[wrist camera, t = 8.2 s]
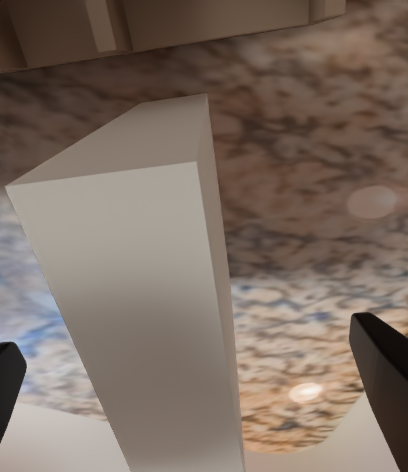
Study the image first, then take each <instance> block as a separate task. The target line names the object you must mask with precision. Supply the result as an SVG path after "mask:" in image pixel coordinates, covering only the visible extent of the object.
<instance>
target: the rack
mask: <svg viewBox="0 0 408 472" xmlns="http://www.w3.org/2000/svg"><path fill="white" fill-rule="evenodd" d="M345 7H346V0H0V74H5V73H11V72H17V71H24V70H30V69H36V68H42V67H49V66H55V65H61V64H68V63H74V62H80V61H87V60H93V59H99V58H106V57H112V56H118V55H124V54H131V53H137V52H143V51H150V50H156V49H162V48H169V47H175V46H181V45H188V44H194V43H200V42H206V41H213V40H219V39H225V38H232V37H238V36H244V35H251V34H257V33H263V32H270V31H276V30H282V29H289V28H295V27H301V26H307V25H314V24H317V23H320V22H323V21H326V20H329V19H332V18H335V17H338V16H341V15H343V14H345Z"/></svg>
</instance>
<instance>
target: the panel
mask: <svg viewBox="0 0 408 472" xmlns="http://www.w3.org/2000/svg"><path fill="white" fill-rule="evenodd" d="M4 187H5V189H6V191H7V193H8V196H9V198H10V200H11V202H12V205H13V207H14V209H15V211H16V214H17V216H18V218H19V220H20V223H21V225H22V227H23V229H24V232H25V234H26V236H27V238H28V241H29V243H30V245H31V247H32V250H33V252H34V254H35V256H36V259H37V261H38V263H39V265H40V268H41V270H42V272H43V274H44V277H45V279H46V281H47V283H48V286H49V288H50V290H51V292H52V295H53V297H54V299H55V301H56V304H57V306H58V308H59V310H60V313H61V315H62V317H63V319H64V322H65V324H66V326H67V328H68V331H69V333H70V335H71V338H72V340H73V342H74V344H75V347H76V349H77V351H78V353H79V356H80V358H81V360H82V362H83V365H84V367H85V369H86V371H87V374H88V376H89V378H90V380H91V383H92V385H93V387H94V389H95V392H96V394H97V396H98V398H99V401H100V403H101V405H102V407H103V410H104V412H105V414H106V416H107V419H108V421H109V423H110V425H111V428H112V430H113V432H114V434H115V436H116V439H117V441H118V443H119V445H120V448H121V450H122V452H123V454H124V457H125V459H126V461H127V464H128V466H129V468H130V470H131V472H245V461H244V448H243V436H242V423H241V411H240V398H239V386H238V373H237V361H236V348H235V336H234V324H233V311H232V299H231V286H230V275H229V267H228V259H227V251H226V243H225V235H224V227H223V219H222V211H221V202H220V194H219V186H218V178H217V170H216V162H215V154H214V146H213V138H212V130H211V122H210V113H209V105H208V97H207V93H205V94H198V95H191V96H184V97H178V98H171V99H164V100H157V101H151V102H144V103H140V104H138V105H137V106H135V107H133V108H132V109H130V110H128V111H127V112H125V113H123V114H122V115H120V116H119V117H117V118H115V119H114V120H112V121H110V122H109V123H107V124H106V125H104V126H102V127H101V128H99V129H97V130H96V131H94V132H92V133H91V134H89V135H88V136H86V137H84V138H83V139H81V140H79V141H78V142H76V143H75V144H73V145H71V146H70V147H68V148H66V149H65V150H63V151H62V152H60V153H58V154H57V155H55V156H53V157H52V158H50V159H48V160H47V161H45V162H44V163H42V164H40V165H39V166H37V167H35V168H34V169H32V170H31V171H29V172H27V173H26V174H24V175H22V176H21V177H19V178H18V179H16V180H14V181H13V182H11V183H9V184H8V185H6V186H4Z"/></svg>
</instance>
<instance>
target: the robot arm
mask: <svg viewBox="0 0 408 472" xmlns="http://www.w3.org/2000/svg"><path fill="white" fill-rule="evenodd" d="M349 341H350V346H351V349H352V352H353V355H354V358H355V361H356V364H357V368H358V371H359V374H360V377H361V380H362V383H363V386H364V389H365V392H366V395H367V398H368V400H369V403H370V406H371V408H372V411H373V413H374V415H375V417H376V420H377V422H378V424H379V426H380V429H381V430H382V433H383V435H384V437H385V439H386V442H387V444H388V446H389V448H390V450H391V453H392V455H393V457H394V459H395V461H396V464H397V466H398V468H399V470H400V472H408V338H407V337H406V336H404V335H403V334H401V333H400V332H398V331H397V330H395V329H394V328H392V327H391V326H389V325H388V324H387V323H385V322H384V321H382V320H381V319H379V318H378V317H376V316H375V315H373V314H372V313H370V312H361V313H354V314H352V316H351V323H350V334H349ZM26 368H27V364H26V361H25V359H24V357H23V355H22V354H21V352H20V350H19V348H18V346H17V345H16V344H15V343H14V342H1V343H0V443H1V440H2V438H3V436H4V433H5V431H6V428H7V426H8V423H9V420H10V418H11V415H12V411H13V409H14V405H15V403H16V400H17V397H18V394H19V391H20V388H21V385H22V382H23V379H24V376H25V373H26Z"/></svg>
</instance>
